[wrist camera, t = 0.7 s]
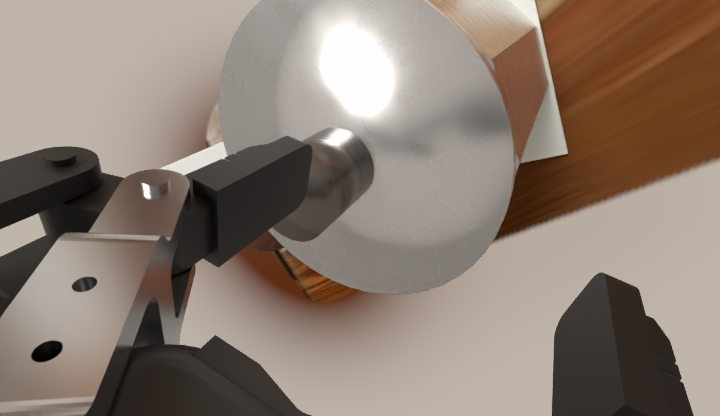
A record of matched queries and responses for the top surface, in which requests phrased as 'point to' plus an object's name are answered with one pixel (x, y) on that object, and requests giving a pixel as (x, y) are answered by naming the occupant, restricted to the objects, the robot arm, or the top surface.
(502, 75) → the cover
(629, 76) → the top surface
